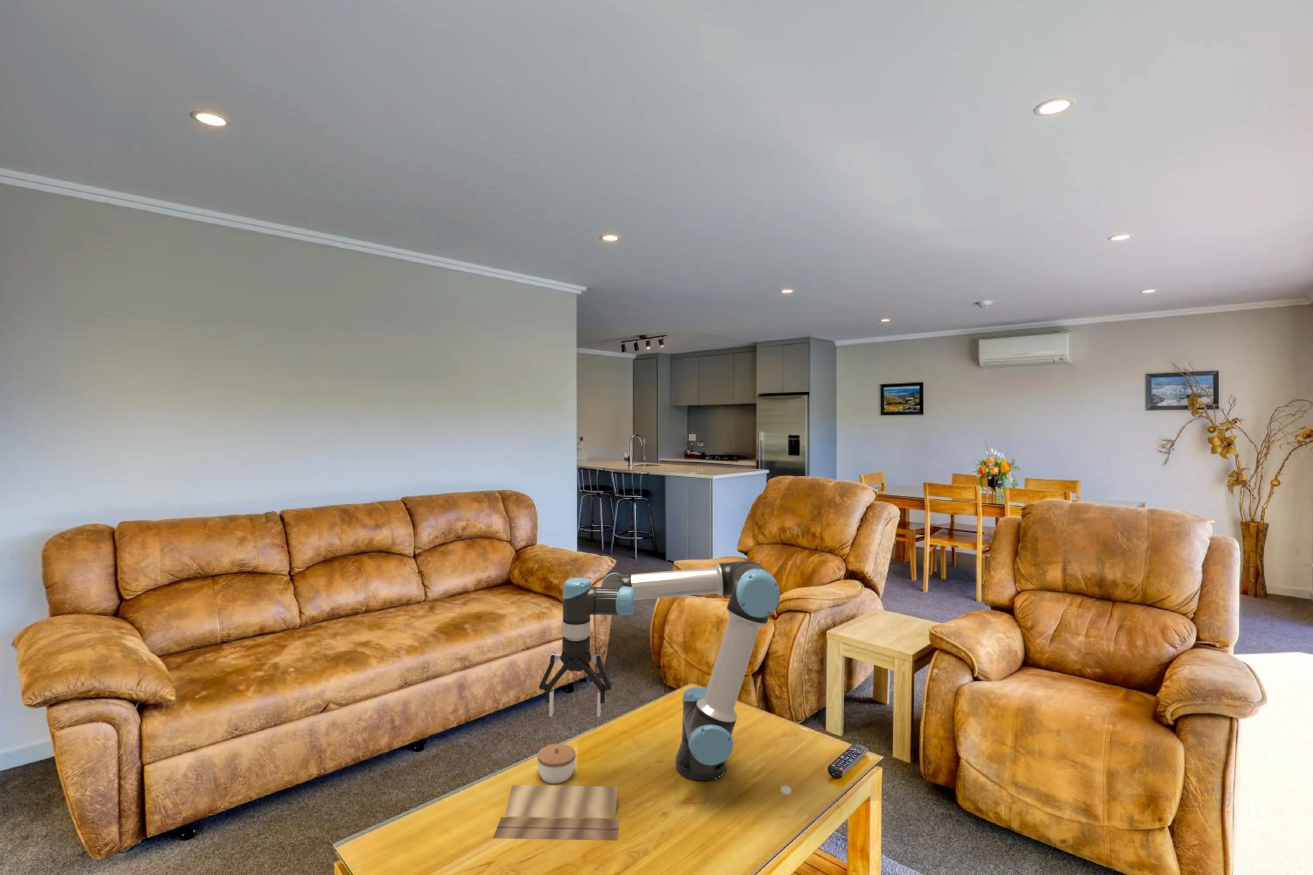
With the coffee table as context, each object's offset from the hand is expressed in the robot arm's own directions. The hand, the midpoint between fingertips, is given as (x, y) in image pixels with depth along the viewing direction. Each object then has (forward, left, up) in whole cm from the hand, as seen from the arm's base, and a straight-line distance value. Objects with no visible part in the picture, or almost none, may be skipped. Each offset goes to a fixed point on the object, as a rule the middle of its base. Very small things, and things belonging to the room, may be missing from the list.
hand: (575, 714), depth 167 cm
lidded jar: (+6, -7, -22) cm, 24 cm away
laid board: (+2, +16, -22) cm, 28 cm away
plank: (+2, +8, -20) cm, 22 cm away
